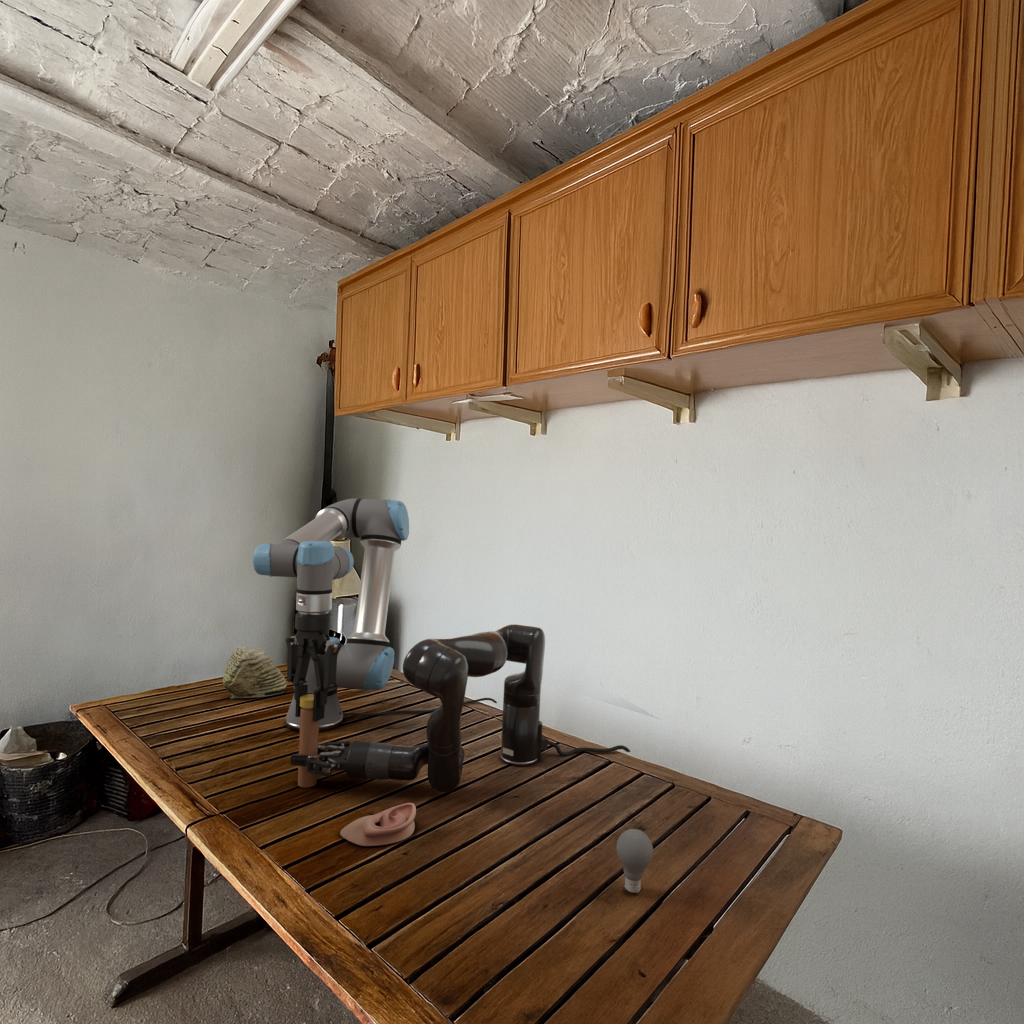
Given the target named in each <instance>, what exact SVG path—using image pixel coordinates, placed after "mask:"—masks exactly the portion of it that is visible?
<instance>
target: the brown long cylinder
mask: <svg viewBox="0 0 1024 1024" xmlns="http://www.w3.org/2000/svg"><path fill="white" fill-rule="evenodd" d="M298 736H299V737H298V739H299V740H298V754H302V755H318V746H319V739H320V738H319V736H320V731H319V720H318V721H316V722H315V721H313V708H302V707H301V708H300V731H299V735H298ZM315 760H318V759H315ZM314 769H315V768H314ZM317 783H318V774H314V773H310V772H307V766H297V786H298V787H300V788H304V789H305V788H311V787H314V786H315V785H317Z"/></svg>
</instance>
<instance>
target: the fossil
mask: <svg viewBox="0 0 1024 1024" xmlns="http://www.w3.org/2000/svg"><path fill="white" fill-rule="evenodd" d="M222 676H223V677H222V685H223V687H224V688H225V690H226V691H228V693H229V698H230V699H250V698H264V697H271V696H275V695H281V694H284V693H285V691H286V689H287V687H288V686H287V679H286V678H285V676H284V674H283V673H282V672H281V669H279V668H278V667H277V665H276V663H275V662H274V660H273V659H272V658H271V657H270V656H269V655H268V654H267V653H266V652H265V650H264V649H263V648H260V647H258V648H251V647H247V646H246V647H245V646H238V647H237V648H236V649H235V650H233V651H232V653H231V656H230V657H229V659H228V660H227V663H226V666H225V668H224V671H223V675H222Z"/></svg>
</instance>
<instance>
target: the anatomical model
mask: <svg viewBox="0 0 1024 1024" xmlns="http://www.w3.org/2000/svg"><path fill="white" fill-rule="evenodd" d="M416 806H417V805H415V803H413V802H406V803H402V804H398V805H395V806H392V807H390V808H387V809H385V810H382V811H380V812H378V813H375V814H373V815H372V814H371V815H364V816H362V817H359V818H357V819H355V820H353V821H351V822H349V823H348V824H347V825H345V826H344V827H343V828H342V829H341V830H340V832H339V835H340V837H342V838H343V839H345V840H346V841H348V842H349V843H352V844H355V845H357V846H359V847H376V846H384V845H385V846H386V845H389V844H395V843H398V842H401V841H403V840H406V839H408V838H410V837H411V836H412V835H413V833H414V832H415V828H416V823H415V821H414V820H415V819H416V815H417V807H416Z"/></svg>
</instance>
